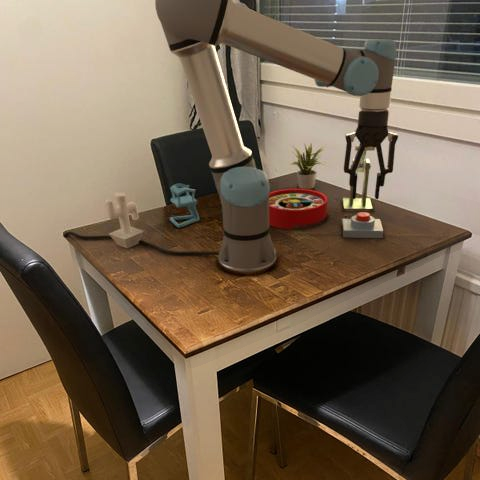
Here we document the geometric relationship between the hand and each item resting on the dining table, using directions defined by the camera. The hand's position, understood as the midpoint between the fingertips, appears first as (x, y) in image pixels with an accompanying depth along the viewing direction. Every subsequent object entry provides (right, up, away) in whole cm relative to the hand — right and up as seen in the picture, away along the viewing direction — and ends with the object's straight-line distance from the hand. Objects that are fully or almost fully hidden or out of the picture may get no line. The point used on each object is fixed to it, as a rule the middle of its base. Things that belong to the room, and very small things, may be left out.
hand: (365, 197), depth 138 cm
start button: (0, -6, +4) cm, 7 cm away
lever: (+2, +13, +11) cm, 17 cm away
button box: (0, -9, +6) cm, 10 cm away
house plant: (-11, +12, +39) cm, 42 cm away
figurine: (-67, -13, +5) cm, 69 cm away
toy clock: (-18, -2, +17) cm, 25 cm away
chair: (-52, -3, +18) cm, 55 cm away
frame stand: (+3, +3, +23) cm, 23 cm away
